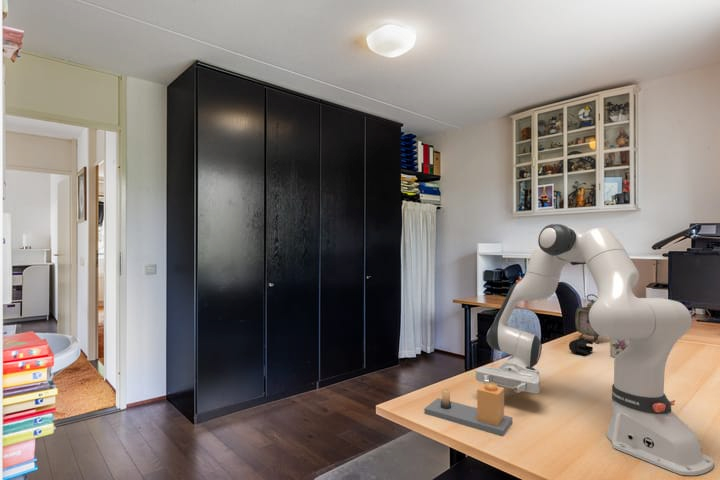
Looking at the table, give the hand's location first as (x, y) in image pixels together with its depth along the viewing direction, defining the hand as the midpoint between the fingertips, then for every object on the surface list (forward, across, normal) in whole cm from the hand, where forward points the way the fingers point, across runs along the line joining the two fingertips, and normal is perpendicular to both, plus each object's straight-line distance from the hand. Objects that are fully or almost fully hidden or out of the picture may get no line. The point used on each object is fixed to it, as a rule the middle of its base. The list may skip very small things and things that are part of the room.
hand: (500, 386), depth 125 cm
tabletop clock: (-118, +15, +8) cm, 119 cm away
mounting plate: (+10, -7, +8) cm, 15 cm away
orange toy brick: (+10, 0, +6) cm, 12 cm away
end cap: (-88, +13, +8) cm, 89 cm away
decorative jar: (-92, +32, +8) cm, 97 cm away
